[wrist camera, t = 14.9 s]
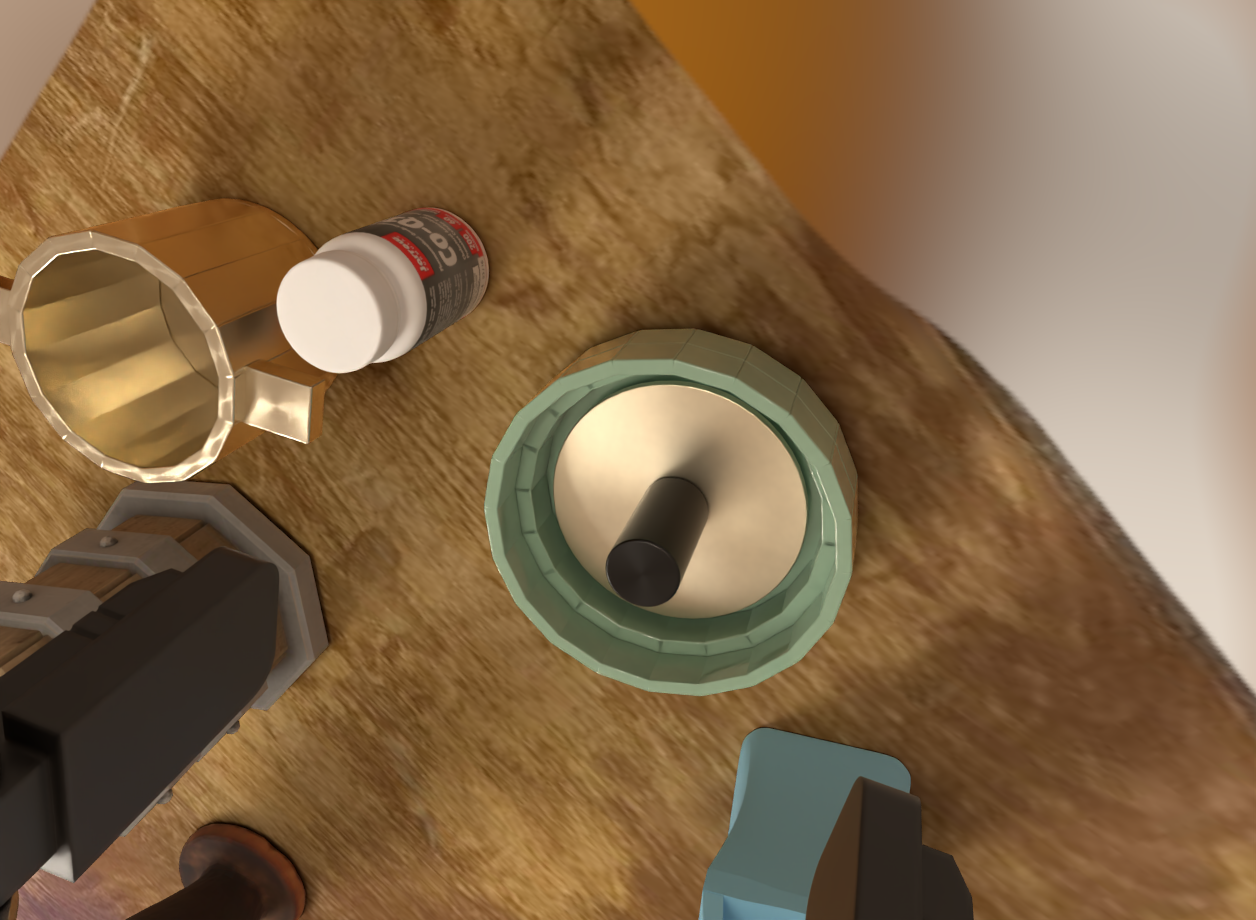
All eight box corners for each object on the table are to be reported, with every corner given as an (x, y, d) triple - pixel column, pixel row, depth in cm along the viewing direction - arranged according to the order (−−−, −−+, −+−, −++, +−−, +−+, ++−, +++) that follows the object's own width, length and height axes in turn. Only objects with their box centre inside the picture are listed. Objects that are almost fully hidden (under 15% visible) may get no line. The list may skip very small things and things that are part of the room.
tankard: (297, 486, 46) (49, 668, 33) (344, 700, 51) (144, 933, 38) (-25, 465, 51) (-350, 614, 38) (45, 661, 56) (-221, 853, 43)
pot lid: (585, 343, 39) (527, 398, 33) (844, 420, 37) (831, 492, 31) (542, 560, 43) (484, 642, 38) (769, 637, 42) (746, 735, 36)
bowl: (555, 282, 38) (514, 311, 34) (908, 385, 36) (907, 428, 32) (503, 574, 45) (463, 626, 41) (800, 676, 43) (788, 742, 39)
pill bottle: (503, 229, 38) (405, 276, 31) (477, 336, 40) (380, 404, 33) (397, 188, 39) (275, 225, 31) (377, 295, 41) (259, 353, 33)
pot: (98, 157, 42) (-67, 182, 35) (414, 249, 39) (306, 295, 32) (108, 362, 46) (-38, 421, 39) (392, 455, 44) (293, 536, 37)
